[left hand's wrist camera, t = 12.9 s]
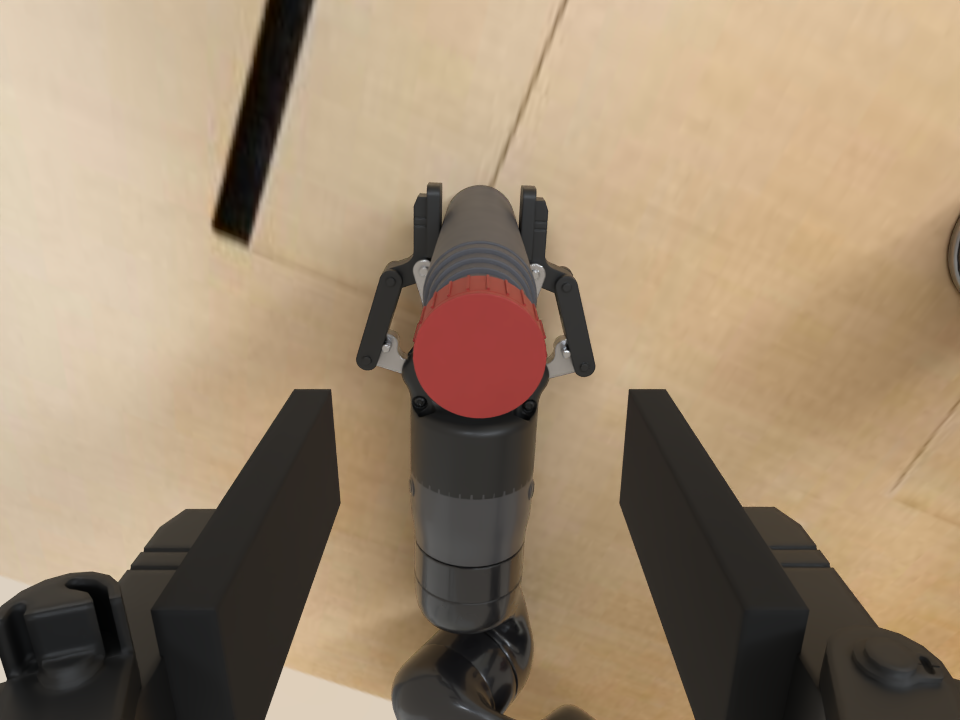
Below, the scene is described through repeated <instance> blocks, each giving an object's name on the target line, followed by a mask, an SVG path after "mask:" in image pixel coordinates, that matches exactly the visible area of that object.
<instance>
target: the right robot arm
mask: <svg viewBox="0 0 960 720" xmlns="http://www.w3.org/2000/svg"><path fill="white" fill-rule="evenodd" d="M547 220H548V209H547V206H546V203H545V200H544V199H543V198H540V197H536V188H535V186H521V195H520V213H519V231H520V235H521V238H522V241H523V244H524V247H525V251H526V254H527V257H528V260H529V263H530V267H531V270H532V273H533V276H534V279H535V283H536V289H537V298H538V295H539V292H540V290H541V288H544V289H546V290H549V291H551V292H554V293H555V297H556V301H557V306H558V310H559V314H560V319H561V323H562V327H563V332H564V335H561V336H559V337H557V338H556V339H555V341H554V343H553V353H552V354H551V355H550V356H549V357H548V358H546V366H545V371H544V374H543V377H542V379H541V381H540V383H539V385H538V387H537V388H536V390H535V391H534V393H533V394H532V395H531V396H530V397H529V398H528V399H527V400H526V401H525V402H524V403H523V404H521V405H520V406H519V407H517V408H516V409H514V410H512V411H510V412H508V413H505V414H502V415H499V416H495V417H490V418H470V417H464V416H460V415H457V414H455V413H452V412H450V411H448V410H446V409H444V408H442V407H441V406H440V405H438V404H437V403H436V402H435V401H433V400H432V399H431V398H430V397H429V396H428V394H427V393H426V392H425V391H424V389H423V388H422V386H421V384H420V382H419V380H418V378H417V375H416V372H415V369H414V363H413V349H414V347H413V348H412V349H411V350H410V352H409V353H408V354H406V353H404V352H403V351H402V350H401V349H400V346H399V342H400V337H399V335H398V333H397V332H396V331H394V330H392V329H389V328H390V325H391V322H392V319H393V315H394V312H395V309H396V306H397V302H398V299H399V296H400V293H401V289H402V288H403V287H406V286H409V285H412V284H415V283H416V284H417V287H418V290H419V294H420V297H421V300H422V305H423V286H424V282H425V278H426V275H427V272H428V269H429V266H430V262H431V259H432V256H433V253H434V250H435V247H436V243H437V240H438V237H439V234H440V231H441V227H442V183H429V184H428V185H427V194H422V193H420V194H419V196H418V197H417V200H416V202H415V205H414V253H413V255H412V256H410V257H409V258H406V259H403V260H400V261H392V262H390V263H389V264H388V265H387V266H386V268H385V270H384V271H383V273H382V275H381V277H380V280H379V283H378V286H377V290H376V293H375V297H374V300H373V303H372V307H371V310H370V314H369V317H368V320H367V324H366V327H365V330H364V334H363V337H362V341H361V344H360V347H359V351H358V354H357V358H356V362H357V364H358V366H359V367H360V368H361V369H363V370H372V369H374V368H375V367H376V366H379V367H382V368H386V369H389V370H392V371H395V372H398V373H402V377H403V380H404V382H405V384H406V385H407V387H408V389H409V392H410V396H411V475H410V479H409V489H410V493H411V509H412V516H413V522H414V529H415V590H416V597H417V601H418V605H419V607H420V609H421V611H422V613H423V615H424V616H425V617H426V618H427V620H428V621H429V622H431V623H432V624H433V625H434V626H436V627H438V628H439V629H440V630H439V631H438V632H437V633H436V634H435V635H434V636H433V637H432V638H431V639H429V640H428V641H427V642H426V643H425V644H424V645H423V646H422V647H421V648H420V649H419V650H418V651H417V652H416V653H415V654H414V655H413V656H412V657H411V658H410V659H409V660H408V661H407V662H406V663H405V664H404V665H403V666H402V667H401V669H400V670H399V671H398V673H397V674H396V676H395V679H394V682H393V685H392V694H391V697H392V705H393V710H394V713H395V715H396V718H397V720H515V719H513V718H510V717H508V716H506V715H503V713H504V712H505V710H506V709H507V708H508V706H509V705H510V704H511V703H512V702H513V700H514V699H515V698H516V697H517V695H518V694H519V693H520V691H521V690H522V688H523V687H524V685H525V683H526V681H527V679H528V676H529V673H530V670H531V666H532V661H533V654H534V642H533V636H532V631H531V627H530V622H529V617H528V613H527V608H526V603H525V600H524V596H523V593H522V590H521V579H522V567H523V553H524V538H525V531H526V526H527V522H528V518H529V514H530V507H531V498H532V496H533V491H534V481H533V469H534V456H535V442H536V428H537V414H538V402H539V398H540V395H541V393H542V391H543V390H544V388H545V387H546V386H547V384H548V381H549V378H553V377H557V376H561V375H565V374H570V373H574V372H575V373H576V374H577V375H579V376H581V377H587V376H590V375H591V374H592V373H593V372H594V370H595V362H594V357H593V353H592V348H591V344H590V339H589V334H588V330H587V325H586V321H585V316H584V311H583V307H582V302H581V298H580V293H579V289H578V284H577V282H576V280H575V278H574V277H573V274H572V273H571V271H570V269H568V268H567V267H564V266H560V267H559V266H557V265H554V264H552V263H550V262H548V261H547V260H546V259H545V248H546V234H547ZM948 263H949V270H950V274H951V277H952V280H953V282H954V284H955V286H956V288H957V289H958V291H959V292H960V217H959V219H958V221H957V223H956V225H955V228H954V230H953V233H952V236H951V240H950V244H949V252H948ZM542 720H596V719H594V718H593V717H592V716H591V715H589V714H588V713H587V712H585V711H584V710H582V709H581V708H579V707H577V706H575V705H571V704H566V705H563V706H560V707H559V708H557V709H555V710H554V711H553V712H551V713H550V714H549V715H547V716H546V717H545V718H544V719H542Z"/></svg>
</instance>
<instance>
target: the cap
mask: <svg viewBox="0 0 960 720" xmlns="http://www.w3.org/2000/svg"><path fill="white" fill-rule="evenodd" d="M544 339H546V336H545V332H544V329H543V325H542V322H541V320H539V318H538V314H537V311H536V307H535V304H534V303H533V304H532V303H531V302H530V300H529V299H528V298H527V296H526V295H525V294H524V292H523V290H522V289H521V290H519V289H518V288H517V287H515V286H514V285H512V284H510V283H509V282H508V280H506V279H505V281H504V280H502V279H499V278H495V277H490V276H489V275H486V276H470V275H467V277H465V278H461V279H458V280H456V281H453V282H452V281H450V282H449V284H448V285H446V286H444V287H443V288H442V289H440V290H439V291H438V292H436V291H435V292H434V295H433V297H432V298H431V300H430V301H429V302H428V304H427V306H424V307H423V310H422V314H421V317H420V321H419V323H418V324H417V328H416V331H415V335H414V338H413V342H415V343H414V349H413V363H414V369H415V372H416V375H417V378H418V380H419V382H420V384H421V386H422V388H423V389H424V391H425V392H426V393H427V394H428V396H429V397H430V398H431V399H432V400H433V401H435V402H436V403H437V404H438V405H440V406H441V407H442V408H444V409H446V410H448V411H450V412H452V413H455V414H457V415H460V416H464V417H470V418H490V417H495V416H499V415H502V414H505V413H508V412H510V411H512V410H514V409H516V408H517V407H519V406H520V405H521V404H523V403H524V402H525V401H526V400H527V399H528V398H529V397H530V396H531V395H532V394H533V393H534V391H535V390H536V388H537V387H538V385H539V383H540V381H541V379H542V377H543V374H544V371H545V366H546V357H547V352H546V345H545V340H544Z"/></svg>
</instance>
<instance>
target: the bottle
mask: <svg viewBox="0 0 960 720" xmlns="http://www.w3.org/2000/svg"><path fill="white" fill-rule="evenodd" d="M467 275H470V276H486V275H489V276H490V277H495V278H499V279H502V280H504V281H505V279H506V280H508V282H509V283H510V284H512V285H514V286H515V287H517V288H518V289H519V290H521V289H522V290H523V292H524V294H525V295H526V296H527V298H528V299H529V300H530V302H531V303H532V304H533V303H534V304H535V307H536V303H537V289H536V283H535V279H534V276H533V273H532V270H531V267H530V263H529V260H528V257H527V254H526V251H525V247H524V244H523V241H522V238H521V235H520V231H519V228H518V225H517V222H516V219H515V215H514V212H513V209H512V206H511V204H510V202H509V201H508V199H507V198H506V197H505V196H504V195H503V194H502V193H501V192H500V191H498V190H496V189H494V188H492V187H489V186H483V185H477V186H471V187H468V188H466V189H464V190H462V191H460V192H459V193H458V194H457V195H456V196H455V197H454V198H453V199H452V201H451V202H450V204H449V206H448V209H447V212H446V215H445V218H444V221H443V224H442V227H441V231H440V234H439V237H438V240H437V243H436V247H435V250H434V253H433V256H432V259H431V262H430V266H429V269H428V272H427V275H426V278H425V282H424V286H423V307H424V306H427V304H428V302H429V301H430V300H431V298H432V297H433V295H434V292H435V291H436V292H438V291H439V290H440V289H442V288H443V287H444V286H446V285H448V284H449V282H450V281H452V282H453V281H456V280H458V279H461V278H465V277H467Z"/></svg>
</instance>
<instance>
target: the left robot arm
mask: <svg viewBox="0 0 960 720" xmlns="http://www.w3.org/2000/svg"><path fill="white" fill-rule="evenodd" d="M339 506H340V491H339V479H338V467H337V455H336V443H335V431H334V419H333V407H332V395H331V389H294V391H293V392H292V394H291V395H290V397H289V398H288V400H287V401H286V403H285V405H284V406H283V408H282V409H281V411H280V412H279V414H278V415H277V417H276V418H275V420H274V421H273V423H272V424H271V426H270V427H269V429H268V431H267V432H266V434H265V435H264V437H263V438H262V440H261V441H260V443H259V444H258V446H257V447H256V449H255V450H254V452H253V454H252V455H251V457H250V458H249V460H248V461H247V463H246V464H245V466H244V467H243V469H242V470H241V472H240V473H239V475H238V476H237V478H236V480H235V481H234V483H233V484H232V486H231V487H230V489H229V490H228V492H227V493H226V495H225V496H224V498H223V499H222V501H221V503H220V504H219V506H218V507H217V509H185V510H184V511H182V512H181V513H180V514H178V515H177V516H175V517H174V518H172V519H171V520H169V521H168V522H167V523H165V524H164V525H162V526H161V527H160V528H159V529H158V530H157V532H156V533H155V534H154V536H153V537H152V538H151V540H150V541H149V542H148V543H147V545H146V546H145V547H144V552H141V553H140V554H139V555H138V557H137V558H136V559H135V561H134V562H133V563H132V565H131V569H130V570H127V571H126V572H125V574H124V575H123V576H122V578H121V579H120V580H119V582H117V581H116V580H114V579H113V578H112V577H111V576H110V575H106V574H101V573H96V572H80V573H69V574H65V575H61V576H58V577H54V578H51V579H47V580H44V581H42V582H40V583H38V584H36V585H33V586H31V587H29V588H27V589H25V590H23V591H21V592H20V593H18V594H17V595H16V596H14V597H13V598H11V599H10V600H9V601H7V602H6V603H5V604H3V605H2V606H1V607H0V658H1V661H2V665H3V668H4V671H5V674H6V677H7V681H6V682H3V683H0V720H265V717H266V714H267V711H268V709H269V706H270V703H271V700H272V697H273V694H274V691H275V689H276V686H277V683H278V680H279V677H280V674H281V672H282V669H283V666H284V663H285V660H286V657H287V654H288V652H289V649H290V646H291V643H292V640H293V637H294V634H295V632H296V629H297V626H298V623H299V620H300V617H301V614H302V612H303V609H304V606H305V603H306V600H307V597H308V594H309V592H310V589H311V586H312V583H313V580H314V577H315V574H316V572H317V569H318V566H319V563H320V560H321V557H322V555H323V552H324V549H325V546H326V543H327V540H328V537H329V535H330V532H331V529H332V526H333V523H334V520H335V517H336V515H337V512H338V509H339ZM620 506H621V509H622V512H623V515H624V517H625V520H626V523H627V526H628V529H629V532H630V535H631V537H632V540H633V543H634V546H635V549H636V552H637V555H638V557H639V560H640V563H641V566H642V569H643V572H644V575H645V577H646V580H647V583H648V586H649V589H650V592H651V594H652V597H653V600H654V603H655V606H656V609H657V612H658V614H659V617H660V620H661V623H662V626H663V629H664V632H665V634H666V637H667V640H668V643H669V646H670V649H671V652H672V654H673V657H674V660H675V663H676V666H677V669H678V672H679V674H680V677H681V680H682V683H683V686H684V689H685V692H686V694H687V697H688V700H689V703H690V706H691V709H692V711H693V714H694V717H695V720H960V680H957V679H953V678H952V676H951V675H950V673H949V672H948V670H947V669H946V668H945V666H944V665H943V663H942V662H941V661H940V660H939V659H938V658H937V657H935V656H934V655H933V654H932V653H931V652H929V651H928V650H927V649H926V648H925V647H923V646H922V645H920V644H918V643H916V642H914V641H913V640H911V639H909V638H907V637H905V636H903V635H901V634H899V633H896V632H892V631H889V630H886V629H883V628H879V627H878V626H877V624H876V623H875V622H874V621H873V619H872V618H871V617H870V615H869V614H868V613H867V611H866V610H865V609H864V607H863V606H862V605H861V603H860V602H859V601H858V600H857V598H856V597H855V596H854V594H853V593H852V592H851V590H850V589H849V588H848V586H847V585H846V584H845V583H844V581H843V580H842V579H841V577H840V576H839V575H838V573H837V572H836V571H835V569H834V568H830V563H829V562H828V560H827V559H826V558H825V556H824V555H823V554H822V552H821V551H820V550H817V548H816V545H815V543H814V542H813V541H812V539H811V538H810V537H809V535H808V534H807V533H806V531H805V530H804V529H803V528H802V526H801V525H800V524H798V523H797V522H796V521H794V520H793V519H791V518H790V517H788V516H787V515H785V514H784V513H782V512H781V511H780V510H778V509H777V508H775V507H742V506H741V504H740V503H739V501H738V499H737V498H736V496H735V495H734V493H733V492H732V490H731V489H730V487H729V486H728V484H727V483H726V481H725V480H724V478H723V476H722V475H721V473H720V472H719V470H718V469H717V467H716V466H715V464H714V463H713V461H712V460H711V458H710V457H709V455H708V454H707V452H706V450H705V449H704V447H703V446H702V444H701V443H700V441H699V440H698V438H697V437H696V435H695V434H694V432H693V431H692V429H691V427H690V426H689V424H688V423H687V421H686V420H685V418H684V417H683V415H682V414H681V412H680V411H679V409H678V408H677V406H676V405H675V403H674V401H673V400H672V398H671V397H670V395H669V394H668V392H667V391H666V389H629V395H628V407H627V419H626V431H625V443H624V455H623V467H622V479H621V491H620Z"/></svg>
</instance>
